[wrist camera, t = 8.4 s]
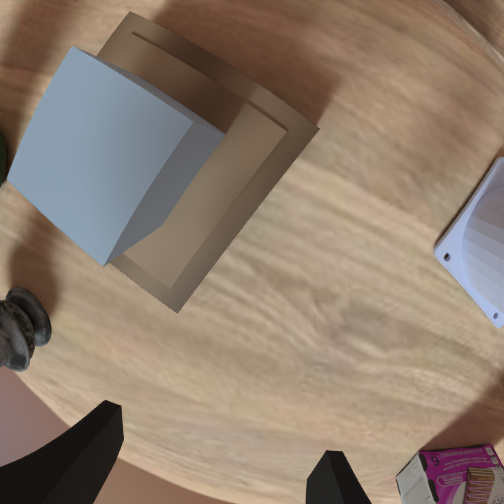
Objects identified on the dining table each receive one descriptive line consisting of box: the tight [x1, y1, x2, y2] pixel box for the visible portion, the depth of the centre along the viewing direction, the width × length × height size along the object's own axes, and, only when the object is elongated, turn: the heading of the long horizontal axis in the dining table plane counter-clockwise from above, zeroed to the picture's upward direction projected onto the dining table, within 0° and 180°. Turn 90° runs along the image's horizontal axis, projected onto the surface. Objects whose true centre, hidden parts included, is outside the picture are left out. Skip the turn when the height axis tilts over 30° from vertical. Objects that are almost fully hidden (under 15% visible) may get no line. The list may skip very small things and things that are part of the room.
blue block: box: [7, 46, 226, 267], centre depth 11 cm, size 5×5×6 cm
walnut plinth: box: [97, 12, 320, 314], centre depth 15 cm, size 11×11×3 cm
